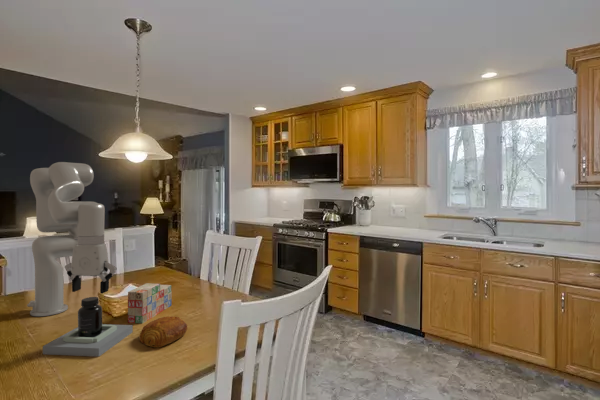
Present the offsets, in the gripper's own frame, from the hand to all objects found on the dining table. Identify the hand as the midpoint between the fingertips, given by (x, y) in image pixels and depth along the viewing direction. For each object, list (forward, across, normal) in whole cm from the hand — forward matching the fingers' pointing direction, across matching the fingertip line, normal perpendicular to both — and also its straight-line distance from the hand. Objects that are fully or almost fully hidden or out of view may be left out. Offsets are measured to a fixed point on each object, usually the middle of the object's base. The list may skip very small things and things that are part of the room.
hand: (90, 291), depth 110 cm
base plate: (+17, +1, -1) cm, 17 cm away
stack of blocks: (+18, +7, +27) cm, 33 cm away
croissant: (+17, +23, +5) cm, 29 cm away
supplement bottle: (+15, 0, 0) cm, 15 cm away
